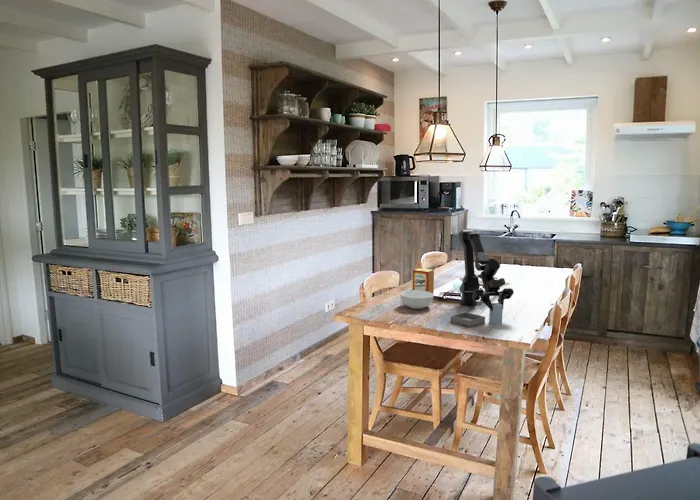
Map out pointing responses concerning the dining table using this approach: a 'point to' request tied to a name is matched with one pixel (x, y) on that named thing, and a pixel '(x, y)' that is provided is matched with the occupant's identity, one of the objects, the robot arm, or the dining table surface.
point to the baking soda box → (423, 280)
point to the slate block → (496, 313)
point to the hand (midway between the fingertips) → (497, 310)
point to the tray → (467, 319)
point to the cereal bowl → (417, 298)
